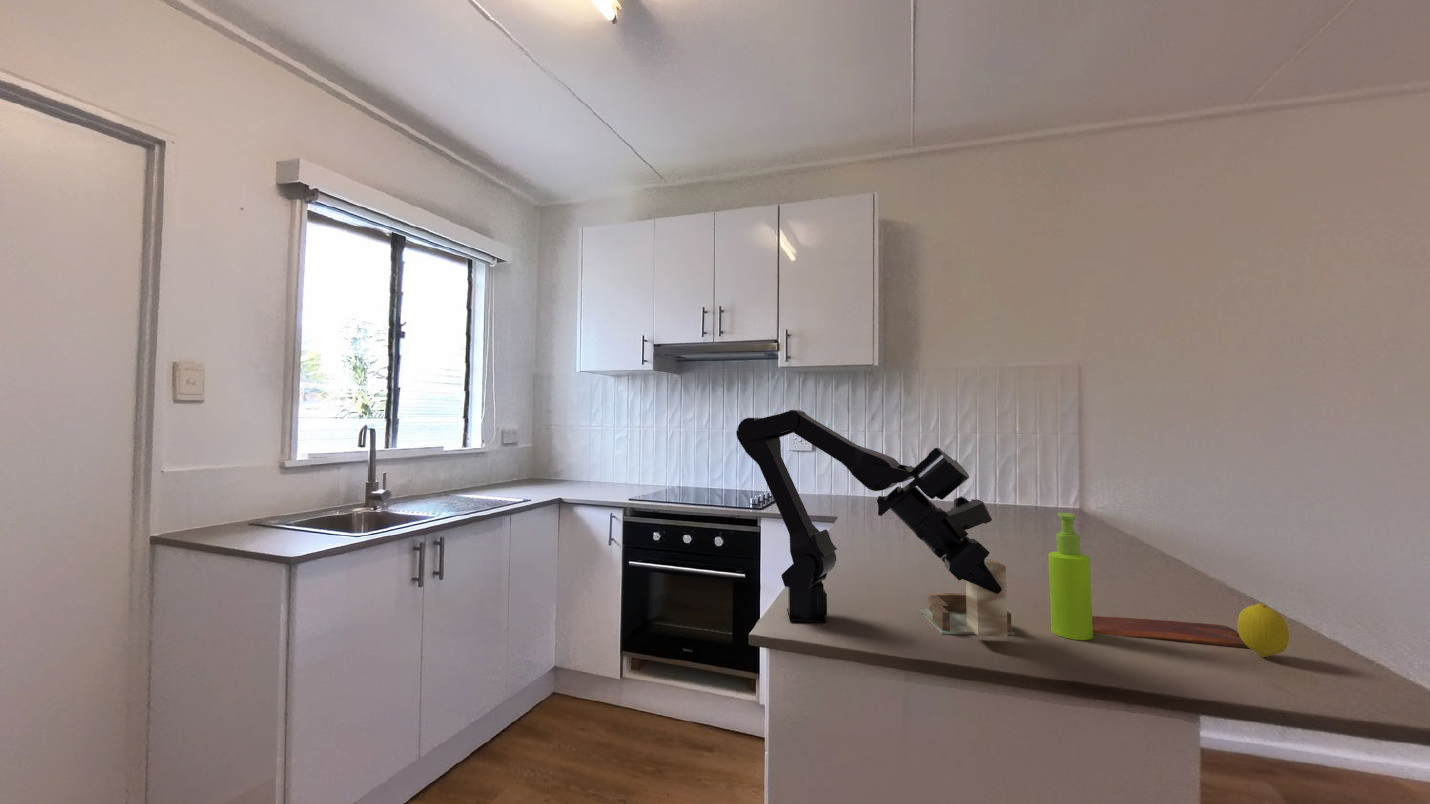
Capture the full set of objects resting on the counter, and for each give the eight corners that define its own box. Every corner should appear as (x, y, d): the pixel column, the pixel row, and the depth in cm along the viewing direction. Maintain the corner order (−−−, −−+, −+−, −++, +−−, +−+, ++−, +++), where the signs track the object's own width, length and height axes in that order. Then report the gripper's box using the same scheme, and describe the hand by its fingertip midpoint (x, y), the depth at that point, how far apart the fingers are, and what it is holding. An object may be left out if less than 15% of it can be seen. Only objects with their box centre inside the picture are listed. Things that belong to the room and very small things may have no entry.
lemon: (1296, 668, 79) (1293, 612, 79) (1244, 660, 82) (1241, 605, 82) (1283, 655, 84) (1280, 601, 84) (1234, 647, 86) (1231, 596, 87)
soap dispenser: (1088, 628, 95) (1083, 511, 96) (1096, 642, 89) (1090, 517, 90) (1048, 623, 97) (1044, 510, 98) (1053, 637, 91) (1048, 515, 92)
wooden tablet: (1228, 632, 95) (1228, 622, 95) (1265, 654, 85) (1265, 643, 85) (1052, 615, 103) (1052, 606, 103) (1068, 634, 94) (1068, 624, 94)
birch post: (978, 636, 87) (976, 566, 87) (966, 625, 91) (965, 559, 92) (1007, 636, 86) (1005, 566, 87) (994, 626, 91) (993, 559, 91)
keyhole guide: (941, 634, 93) (941, 613, 93) (919, 611, 104) (919, 593, 104) (1014, 635, 92) (1014, 614, 92) (984, 612, 104) (983, 593, 104)
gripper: (972, 489, 82) (1056, 567, 79) (945, 477, 100) (1012, 541, 97) (917, 540, 83) (998, 619, 80) (900, 520, 101) (966, 584, 98)
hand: (994, 587), depth 89 cm, fingers closed on birch post, 5 cm apart
